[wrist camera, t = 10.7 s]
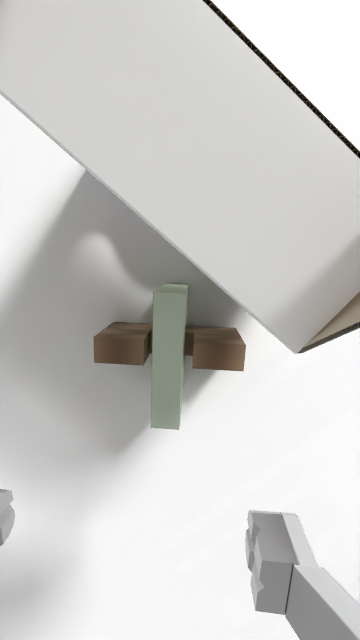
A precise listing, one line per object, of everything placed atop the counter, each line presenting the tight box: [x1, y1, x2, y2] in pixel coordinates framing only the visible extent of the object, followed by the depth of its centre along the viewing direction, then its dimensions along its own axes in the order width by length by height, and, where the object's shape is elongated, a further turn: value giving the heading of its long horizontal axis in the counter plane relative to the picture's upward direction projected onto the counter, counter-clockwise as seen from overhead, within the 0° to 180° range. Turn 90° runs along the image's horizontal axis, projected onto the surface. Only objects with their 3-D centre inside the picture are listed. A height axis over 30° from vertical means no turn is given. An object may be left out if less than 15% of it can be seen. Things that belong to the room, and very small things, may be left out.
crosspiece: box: [151, 283, 188, 430], centre depth 27 cm, size 12×2×9 cm, turn 178°
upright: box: [94, 322, 246, 371], centre depth 29 cm, size 14×2×6 cm, turn 88°
